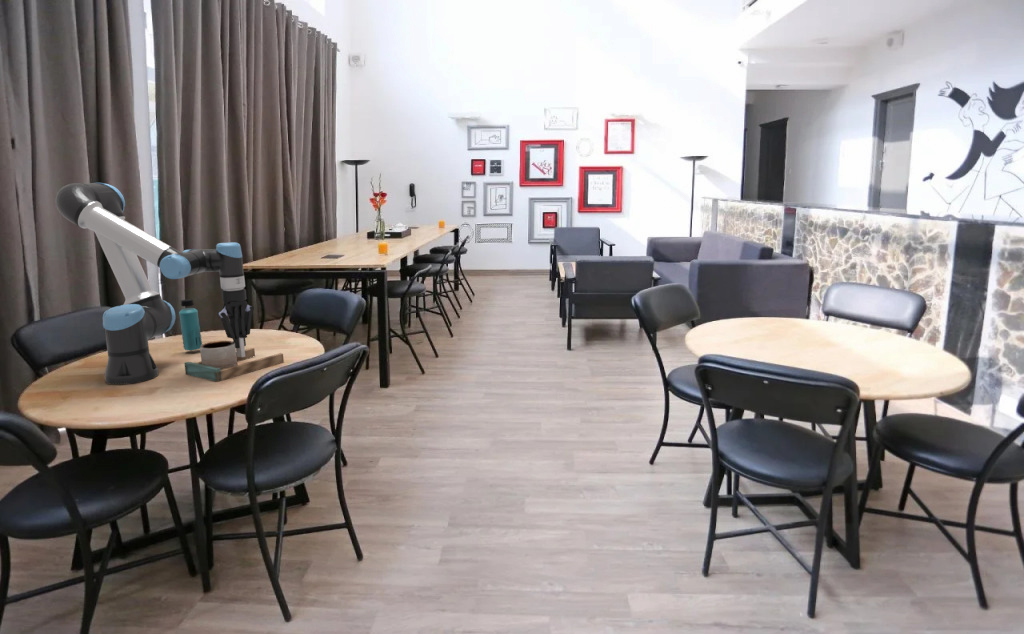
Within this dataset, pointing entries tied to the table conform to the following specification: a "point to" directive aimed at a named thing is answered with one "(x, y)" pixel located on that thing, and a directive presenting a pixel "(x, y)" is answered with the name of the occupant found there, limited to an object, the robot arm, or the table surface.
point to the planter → (219, 354)
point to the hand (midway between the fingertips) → (241, 356)
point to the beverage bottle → (190, 326)
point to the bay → (223, 374)
